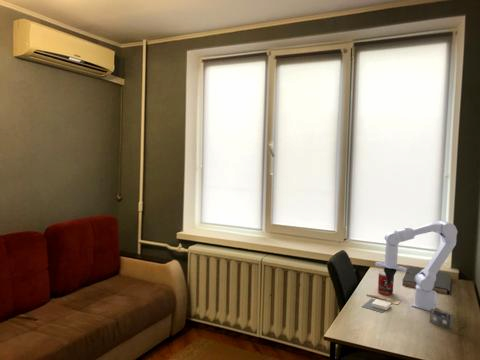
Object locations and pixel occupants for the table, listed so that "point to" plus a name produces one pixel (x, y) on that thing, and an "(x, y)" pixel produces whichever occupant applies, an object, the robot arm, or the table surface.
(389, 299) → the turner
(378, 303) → the tile
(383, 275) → the canned food
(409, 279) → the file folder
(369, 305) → the mat
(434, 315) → the mini dv tape
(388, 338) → the table surface
